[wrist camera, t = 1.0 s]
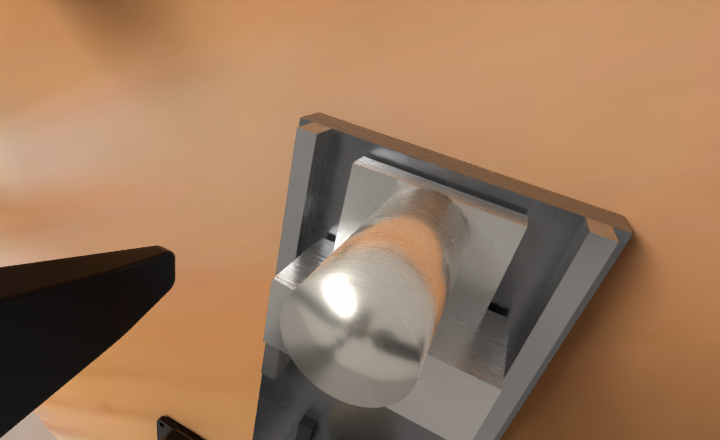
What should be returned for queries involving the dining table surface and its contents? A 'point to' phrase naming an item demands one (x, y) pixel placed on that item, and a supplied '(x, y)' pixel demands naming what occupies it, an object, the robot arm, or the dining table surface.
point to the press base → (512, 300)
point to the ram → (402, 301)
